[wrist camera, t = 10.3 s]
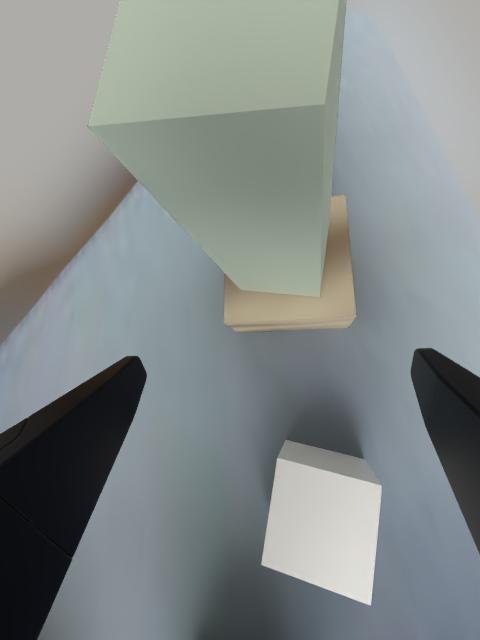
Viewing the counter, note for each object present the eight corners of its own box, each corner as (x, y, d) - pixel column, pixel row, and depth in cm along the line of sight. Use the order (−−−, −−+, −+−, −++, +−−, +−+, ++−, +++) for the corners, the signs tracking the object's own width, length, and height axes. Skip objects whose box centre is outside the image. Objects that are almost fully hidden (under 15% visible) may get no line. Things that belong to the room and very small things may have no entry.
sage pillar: (319, 297, 17) (324, 103, 5) (240, 290, 19) (87, 126, 6) (329, 219, 18) (355, -124, 5) (252, 218, 19) (135, -57, 7)
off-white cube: (354, 544, 17) (370, 605, 13) (273, 518, 19) (261, 564, 14) (363, 458, 18) (382, 485, 13) (285, 439, 20) (277, 458, 15)
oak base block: (347, 328, 20) (356, 316, 17) (238, 333, 22) (223, 323, 18) (339, 226, 22) (345, 194, 18) (238, 238, 24) (225, 211, 20)
